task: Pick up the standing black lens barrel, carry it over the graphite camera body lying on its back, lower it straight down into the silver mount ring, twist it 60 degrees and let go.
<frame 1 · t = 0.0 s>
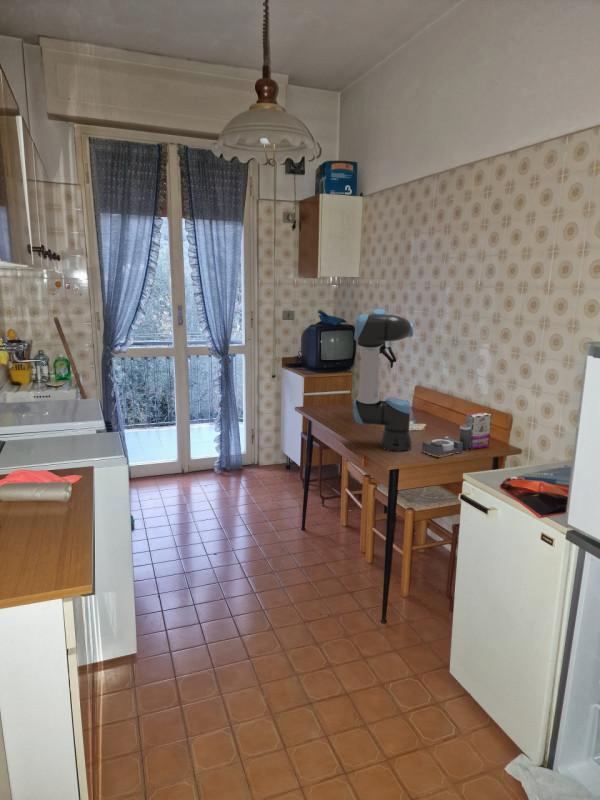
hand: (377, 371, 303), 28 cm above the table, tool tilted 20°, fingers open, 13 cm apart
camera body: (441, 452, 253), on the table
lens: (463, 449, 258), on the table
candy bar box: (476, 447, 262), on the table
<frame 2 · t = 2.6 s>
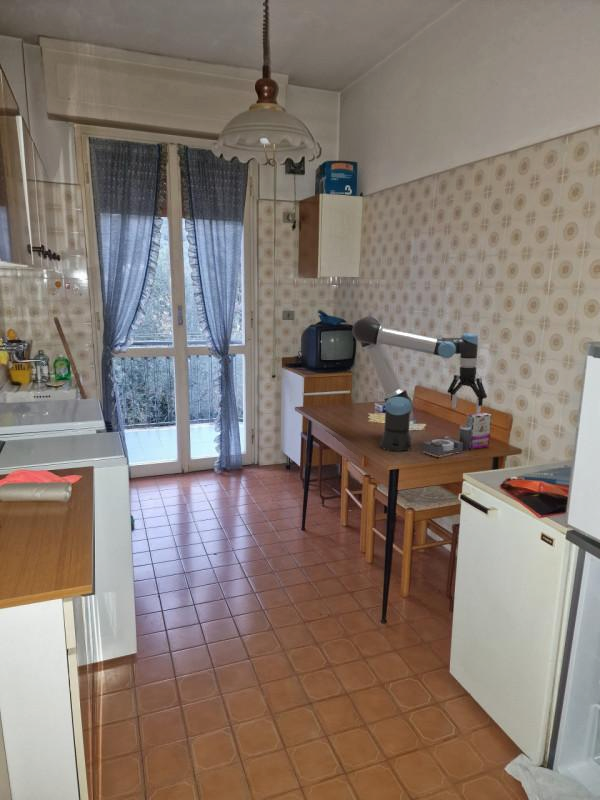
hand: (465, 409, 261), 18 cm above the table, tool pointing down, fingers open, 13 cm apart
nothing on the table moved.
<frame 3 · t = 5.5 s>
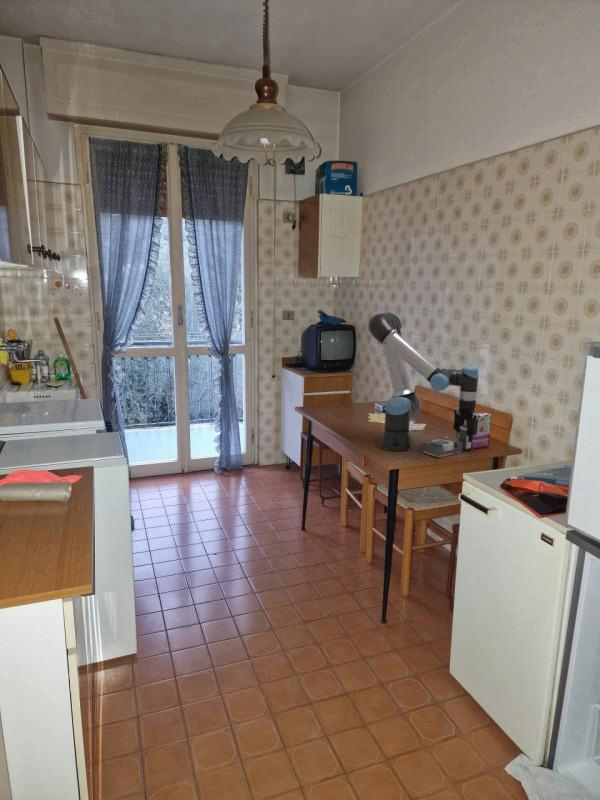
hand: (463, 446, 258), 1 cm above the table, tool pointing down, fingers closed on lens, 5 cm apart
lens: (463, 449, 258), on the table, touching gripper
everything else where it was.
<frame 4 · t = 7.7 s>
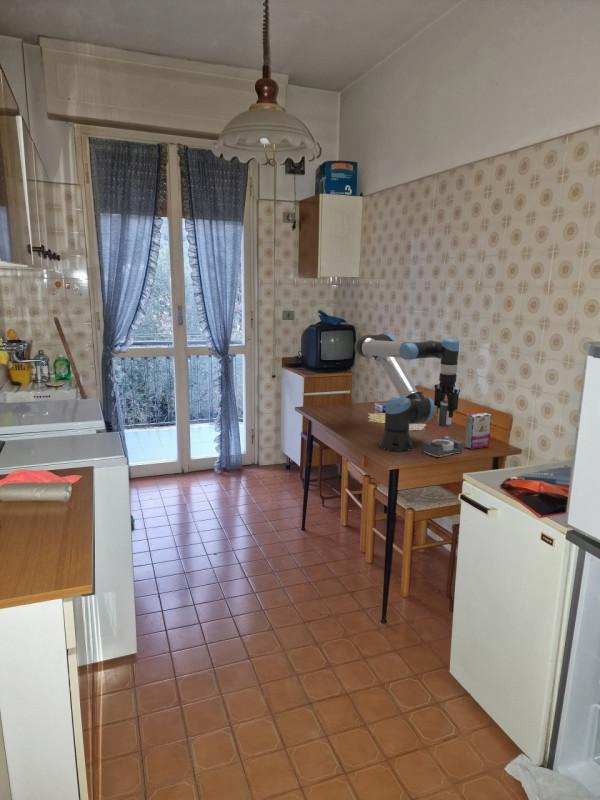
hand: (444, 422, 250), 14 cm above the table, tool pointing down, fingers closed on lens, 4 cm apart
lens: (444, 425, 250), point 13 cm above the table, touching gripper
everything else where it was.
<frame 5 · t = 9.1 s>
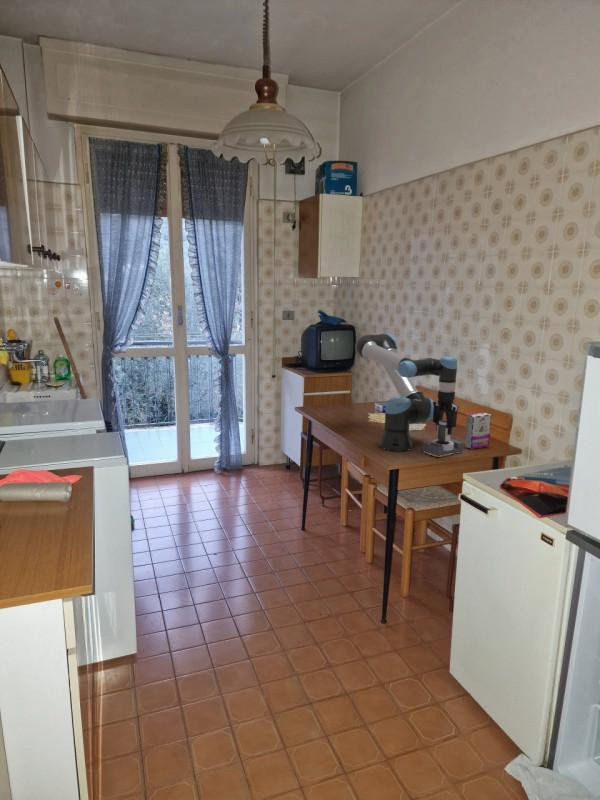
hand: (443, 439, 251), 6 cm above the table, tool pointing down, fingers closed on lens, 5 cm apart
lens: (442, 444, 252), point 4 cm above the table, touching gripper
everything else where it was.
when the fingers open (6 cm above the table, at t = 10.2 s): lens stays where it is, resting on camera body.
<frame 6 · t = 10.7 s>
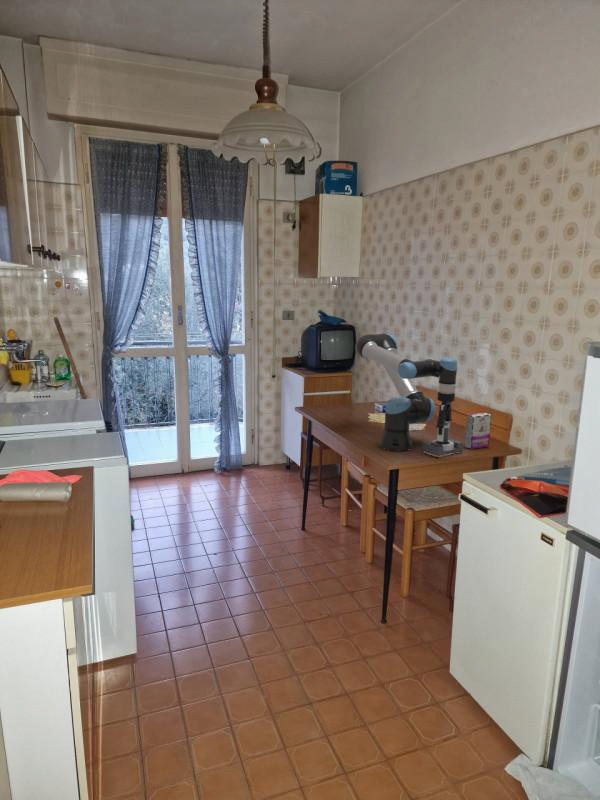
hand: (443, 437, 251), 7 cm above the table, tool pointing down, fingers open, 11 cm apart
lens: (442, 447, 252), point 2 cm above the table, touching camera body
everything else where it was.
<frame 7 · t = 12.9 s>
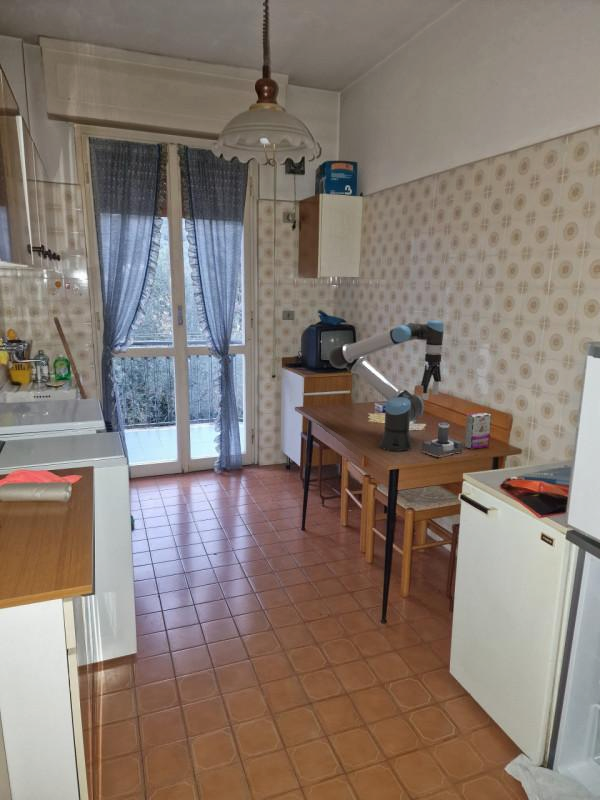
hand: (430, 397, 260), 24 cm above the table, tool pointing down, fingers open, 13 cm apart
nothing on the table moved.
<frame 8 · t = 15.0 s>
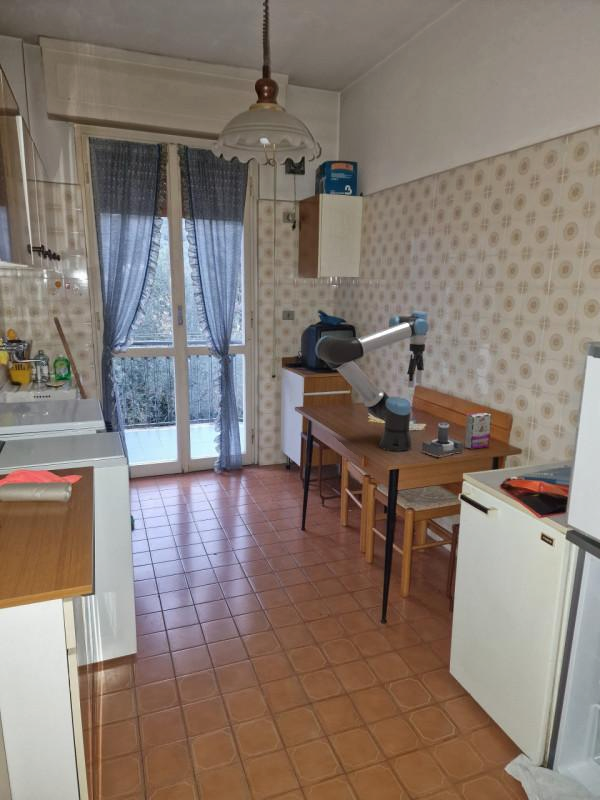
hand: (414, 385, 273), 27 cm above the table, tool pointing down, fingers open, 13 cm apart
nothing on the table moved.
at the end: lens 0.1 cm off-centre in the camera body, point 2.5 cm above the camera body's base; lens tilted 0°; the gripper is holding nothing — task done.
